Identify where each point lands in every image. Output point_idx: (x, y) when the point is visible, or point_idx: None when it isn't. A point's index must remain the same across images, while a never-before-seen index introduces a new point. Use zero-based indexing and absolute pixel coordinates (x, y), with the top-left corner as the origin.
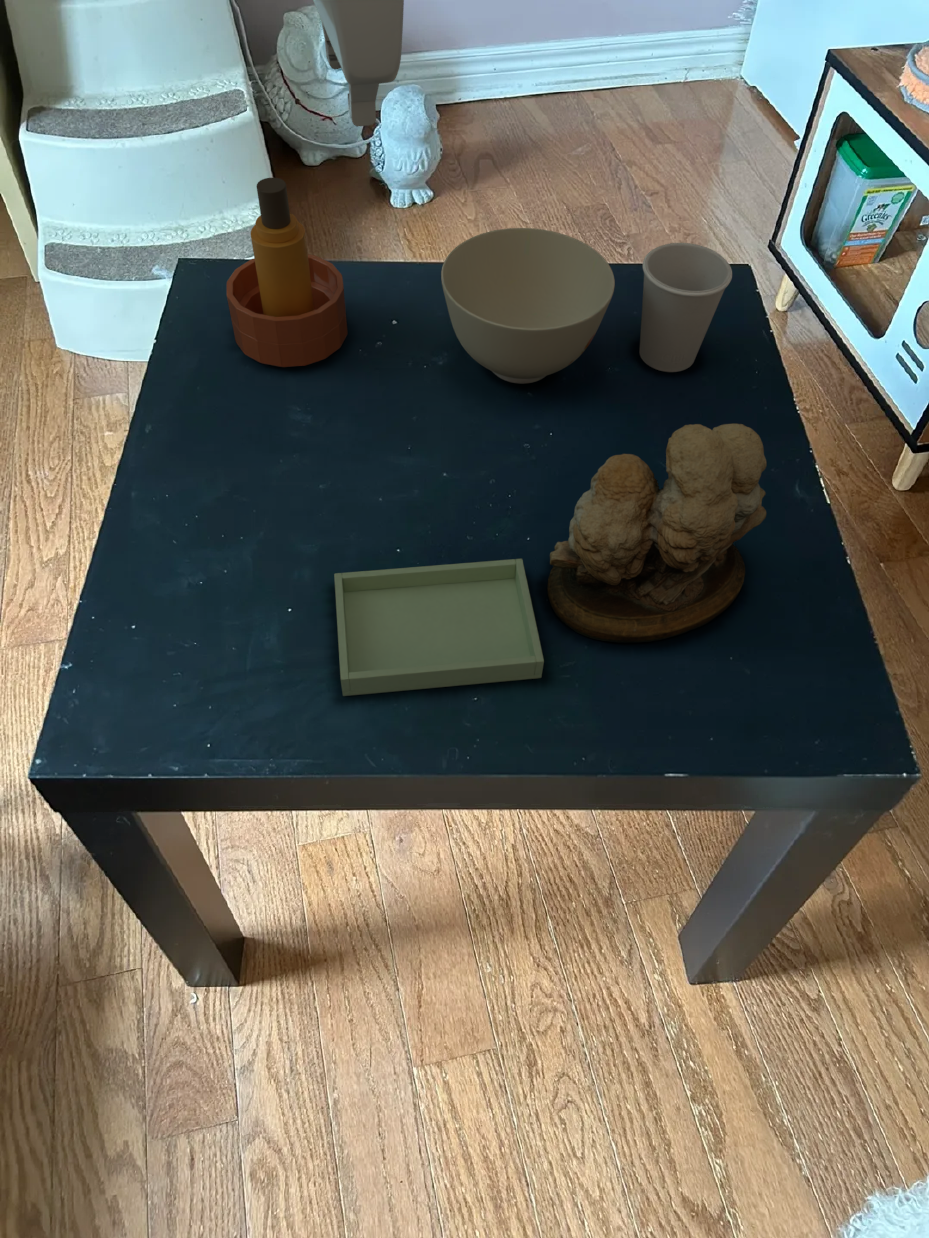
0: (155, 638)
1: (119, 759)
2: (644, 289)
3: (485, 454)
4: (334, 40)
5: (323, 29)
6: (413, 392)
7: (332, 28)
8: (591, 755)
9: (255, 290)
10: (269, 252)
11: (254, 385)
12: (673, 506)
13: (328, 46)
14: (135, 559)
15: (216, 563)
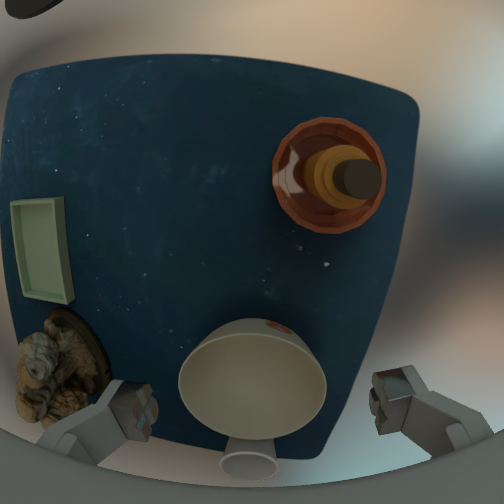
0: (51, 101)
1: (9, 104)
2: (251, 442)
3: (162, 304)
4: (18, 473)
5: (435, 404)
6: (232, 267)
7: (23, 494)
8: (11, 298)
9: (358, 147)
10: (315, 163)
11: (258, 137)
12: (19, 385)
13: (388, 401)
14: (98, 75)
15: (87, 123)
